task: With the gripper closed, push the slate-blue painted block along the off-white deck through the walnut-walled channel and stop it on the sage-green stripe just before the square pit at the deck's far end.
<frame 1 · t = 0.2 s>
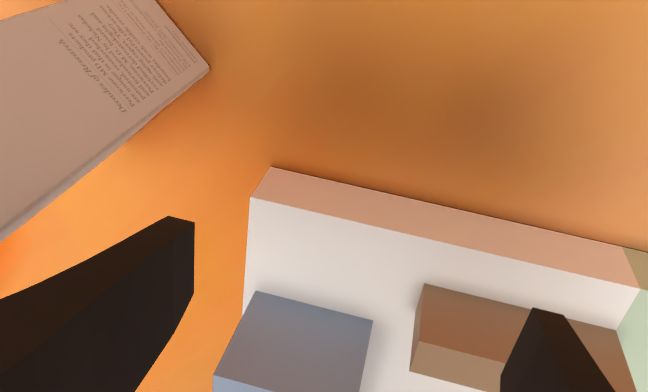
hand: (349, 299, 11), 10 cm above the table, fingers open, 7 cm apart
skincare box: (133, 65, 21), on the table
block: (306, 347, 23), point 2 cm above the table, touching deck
deck: (555, 369, 24), on the table
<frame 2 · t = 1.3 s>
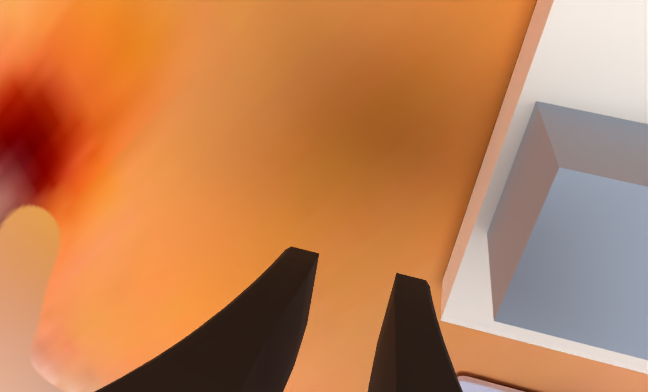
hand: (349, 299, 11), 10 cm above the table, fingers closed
block: (587, 189, 17), point 2 cm above the table, touching deck
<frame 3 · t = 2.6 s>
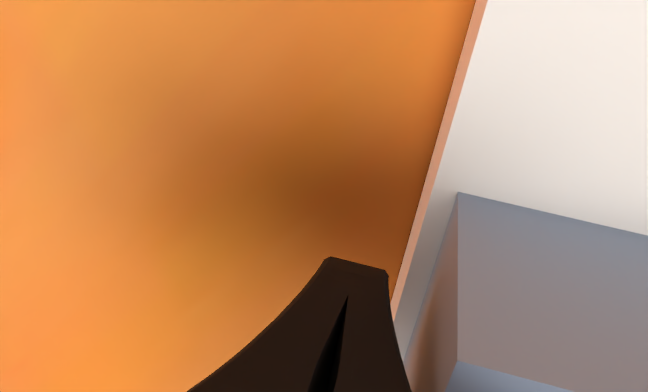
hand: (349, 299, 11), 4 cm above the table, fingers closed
block: (539, 313, 12), point 3 cm above the table, touching deck, gripper
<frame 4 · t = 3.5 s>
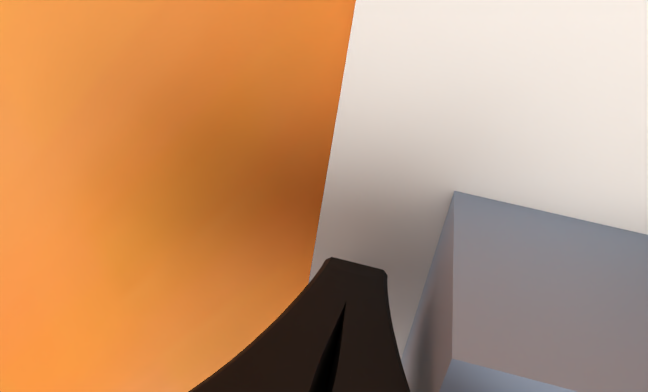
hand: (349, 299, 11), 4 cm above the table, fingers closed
block: (536, 311, 12), point 3 cm above the table, touching deck, gripper
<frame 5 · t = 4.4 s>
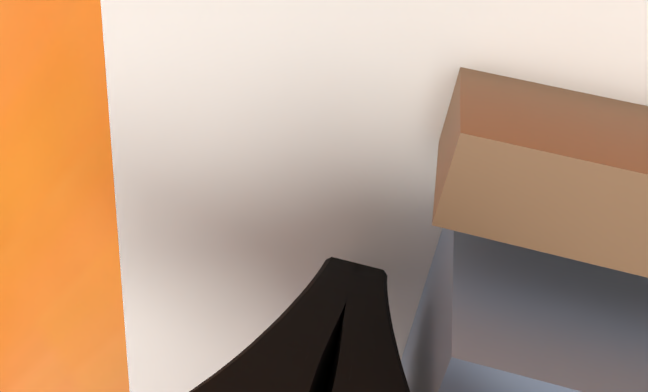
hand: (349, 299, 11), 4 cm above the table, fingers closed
block: (536, 311, 12), point 3 cm above the table, touching gripper
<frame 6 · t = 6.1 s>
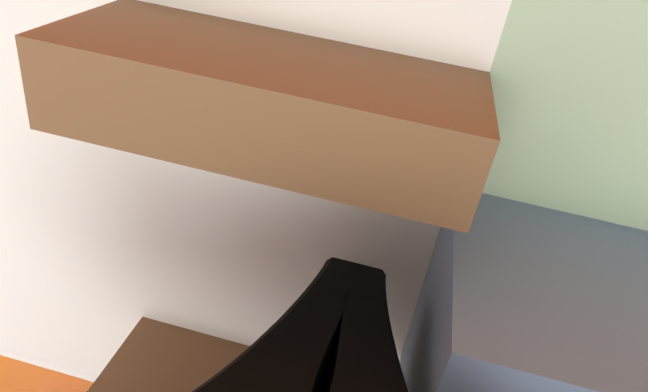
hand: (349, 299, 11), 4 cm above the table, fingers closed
block: (537, 308, 12), point 2 cm above the table, touching deck, gripper
deck: (428, 224, 14), on the table
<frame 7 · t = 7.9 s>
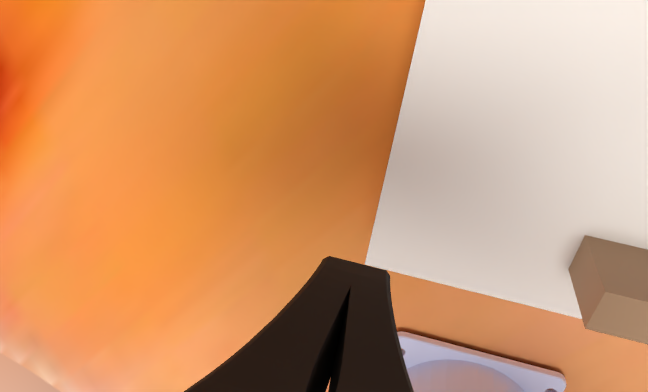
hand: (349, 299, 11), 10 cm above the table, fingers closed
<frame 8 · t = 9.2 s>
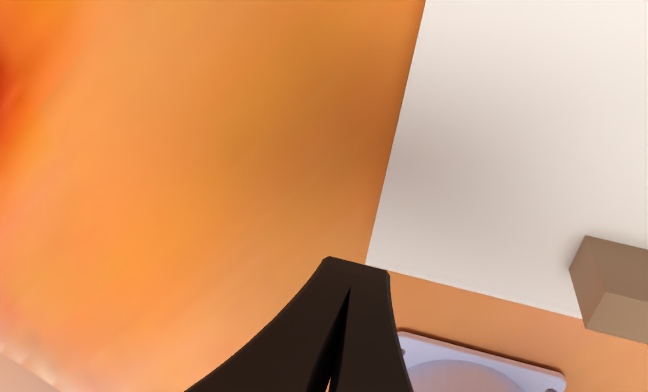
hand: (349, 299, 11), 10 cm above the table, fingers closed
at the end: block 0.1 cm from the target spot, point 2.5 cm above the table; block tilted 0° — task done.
